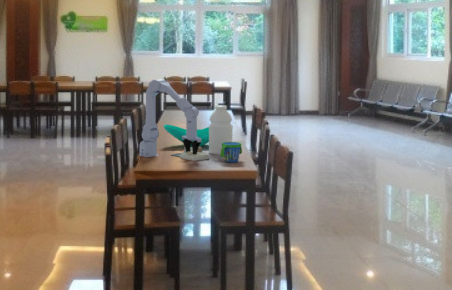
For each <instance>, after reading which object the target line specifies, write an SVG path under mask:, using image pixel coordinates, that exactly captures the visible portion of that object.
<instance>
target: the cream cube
mask: <svg viewBox="0 0 452 290" xmlns="http://www.w3.org/2000/svg"><path fill="white" fill-rule="evenodd" d="M187 155H191V156H197V154H195V155H193V151H187Z"/></svg>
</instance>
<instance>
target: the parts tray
mask: <svg viewBox="0 0 452 290" xmlns="http://www.w3.org/2000/svg"><path fill="white" fill-rule="evenodd" d="M182 153H183V152H177V153H176V152H175V153H171V154H170V156H172V157H177V158H181V154H182ZM202 153H205V154H208V153H207V152H203V151H202Z"/></svg>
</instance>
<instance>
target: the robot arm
mask: <svg viewBox="0 0 452 290" xmlns="http://www.w3.org/2000/svg"><path fill="white" fill-rule="evenodd" d="M159 93H165V94H167V95H168V96H169V97H170V98H171V99H173V100H174V101H175V103H176V104H175V105H176V106H177V107H178V108H179V109H180V110H181V111H182V112H183V113H184V117H185V120H186V123H185V124H186V127H185V129H186V136H182V139H184V140H183V141H182V142H181V143H182V144H183V146H184V148H185V150H186V153H187V151H190V147H191V144H192V147H191V148H192V149H193V155H195V154H197V151H198V148H199V145H200V144H201V138H198V137H197V129H198V121H197V120H198V116H199V112H200V111H199V109H198V108H197V107H196V106H194V105H193V104H192V103H191V102H189V101H188V98H186V97H185V96H184V97H182V96H180V95H179V94H178V93H177V91H176V90H174V88H173V86H172V85H170V83H169V81H167V80H166V79H164V78H161V79H152V80H151V81H150V82H149V83H148V87H147V88H146V91H145V124H144V125H143V127H142V131H141V137H142V141H140V143H139V154H138V156H140V157H144V158H149V157H151V158H152V157H157V156H159V157H160V156H161V155H160V154H158V144H157V143H158V138H159V136H160V131H159V128H158V125H157V123H156V118H157V117H156V113H157V112H156V111H157V110H156V106H157V104H156V103H157V102H156V96H157V95H158V94H159ZM191 139H192V140H191ZM192 141H194V142H192Z"/></svg>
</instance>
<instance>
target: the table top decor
mask: <svg viewBox="0 0 452 290" xmlns="http://www.w3.org/2000/svg"><path fill="white" fill-rule="evenodd" d="M163 128H164V130H165V131H166V132H167V133H169V134H170V135H171V136H172V137H174V138H175V139H177V140H178V141H180V142H181V143H183V142H182V141H183V140H184V139H182V136H186V128H183V127H180V126H176V125H173V124H164V125H163ZM197 137H198V138H201V144H200V145H199V147H203V146H206V145H207V144H209V126H208V127H204V128H202V129H198V128H197ZM191 140H192V139H191ZM192 142H194V141H192ZM191 148H192V144H191Z"/></svg>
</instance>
